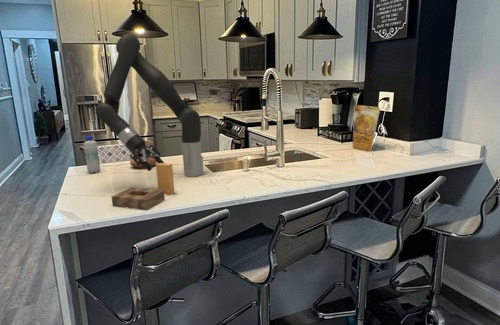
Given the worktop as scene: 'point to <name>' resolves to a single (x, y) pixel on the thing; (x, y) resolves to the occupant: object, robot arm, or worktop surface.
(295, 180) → the worktop surface
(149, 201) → the slotted box
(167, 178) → the tan rectangular block
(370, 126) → the pancake mix bag
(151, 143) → the reddish brown vase
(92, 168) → the bottle
